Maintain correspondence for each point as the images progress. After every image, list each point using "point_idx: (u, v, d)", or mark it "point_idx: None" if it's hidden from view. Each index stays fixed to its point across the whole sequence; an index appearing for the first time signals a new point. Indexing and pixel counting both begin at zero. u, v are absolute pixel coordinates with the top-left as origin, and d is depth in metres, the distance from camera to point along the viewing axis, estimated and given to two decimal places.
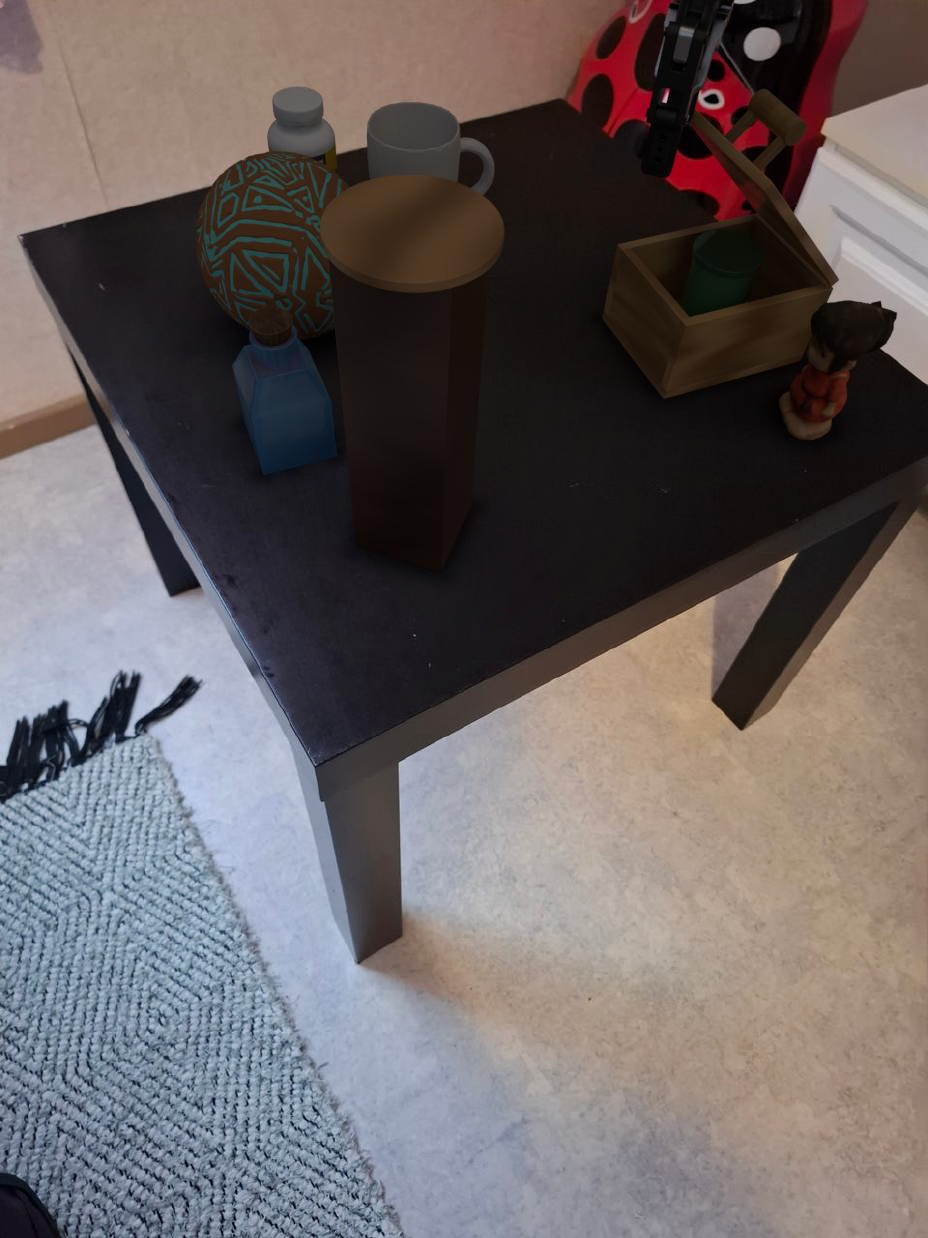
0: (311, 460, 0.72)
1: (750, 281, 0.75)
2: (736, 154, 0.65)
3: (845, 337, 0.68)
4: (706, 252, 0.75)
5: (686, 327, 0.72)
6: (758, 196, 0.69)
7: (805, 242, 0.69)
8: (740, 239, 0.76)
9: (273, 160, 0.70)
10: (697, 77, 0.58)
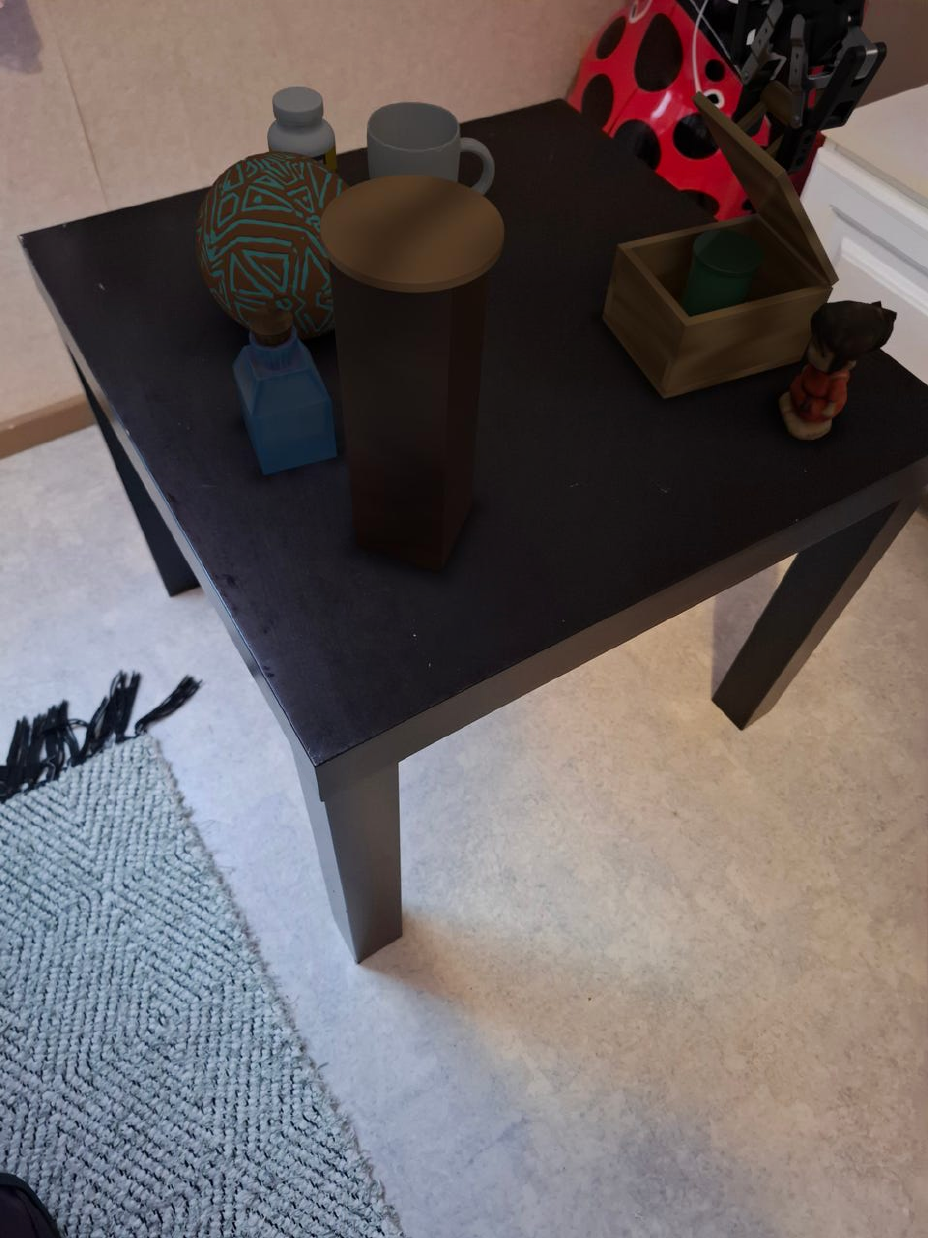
0: (311, 460, 0.72)
1: (750, 281, 0.75)
2: (748, 141, 0.65)
3: (844, 337, 0.68)
4: (706, 252, 0.75)
5: (686, 327, 0.72)
6: (766, 188, 0.69)
7: (811, 237, 0.69)
8: (740, 239, 0.76)
9: (273, 160, 0.70)
10: None
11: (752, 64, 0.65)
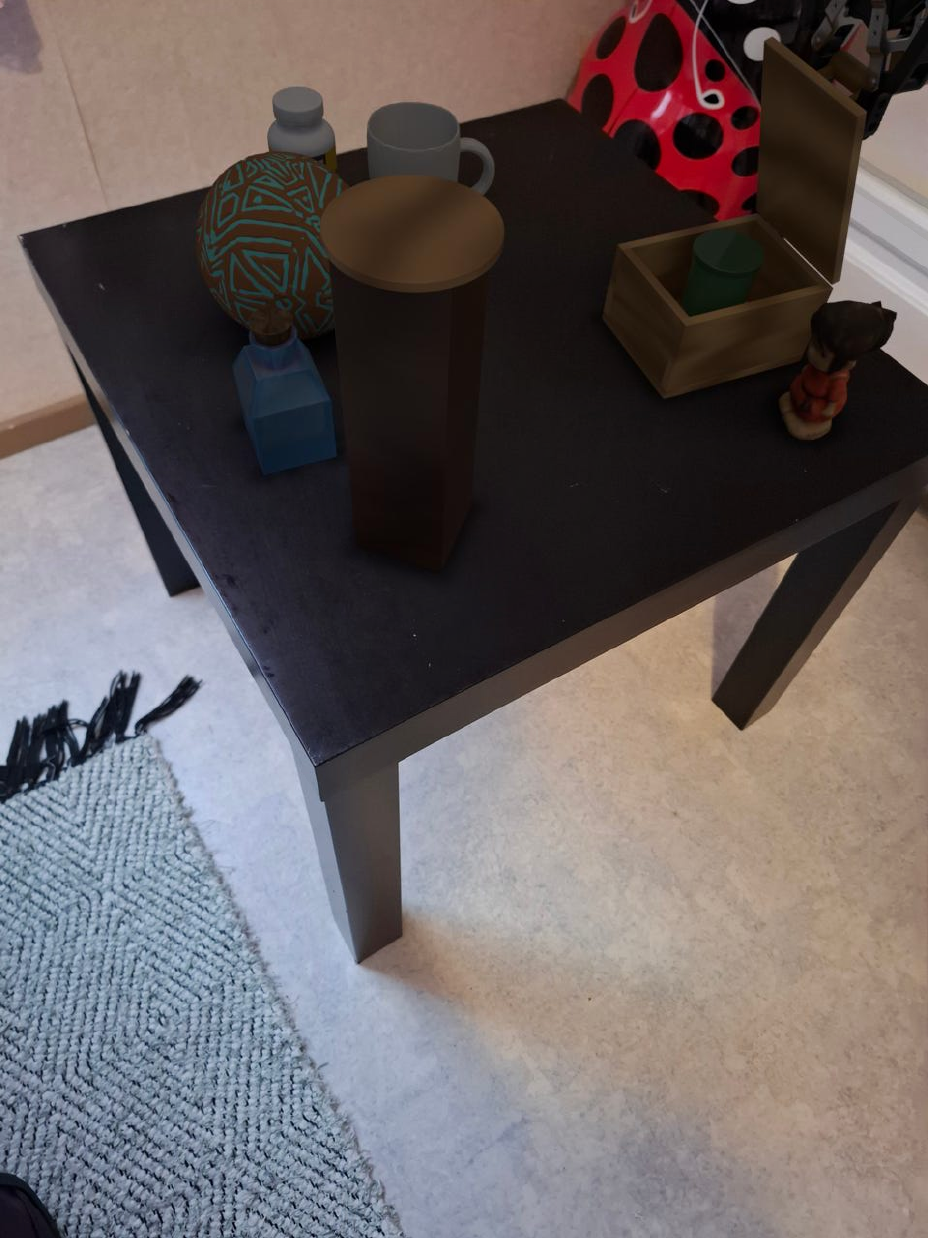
0: (311, 460, 0.72)
1: (750, 281, 0.75)
2: (827, 84, 0.63)
3: (845, 337, 0.68)
4: (706, 252, 0.75)
5: (686, 327, 0.72)
6: (817, 150, 0.68)
7: (846, 212, 0.68)
8: (740, 239, 0.76)
9: (273, 160, 0.70)
10: (911, 40, 0.62)
11: (825, 29, 0.65)
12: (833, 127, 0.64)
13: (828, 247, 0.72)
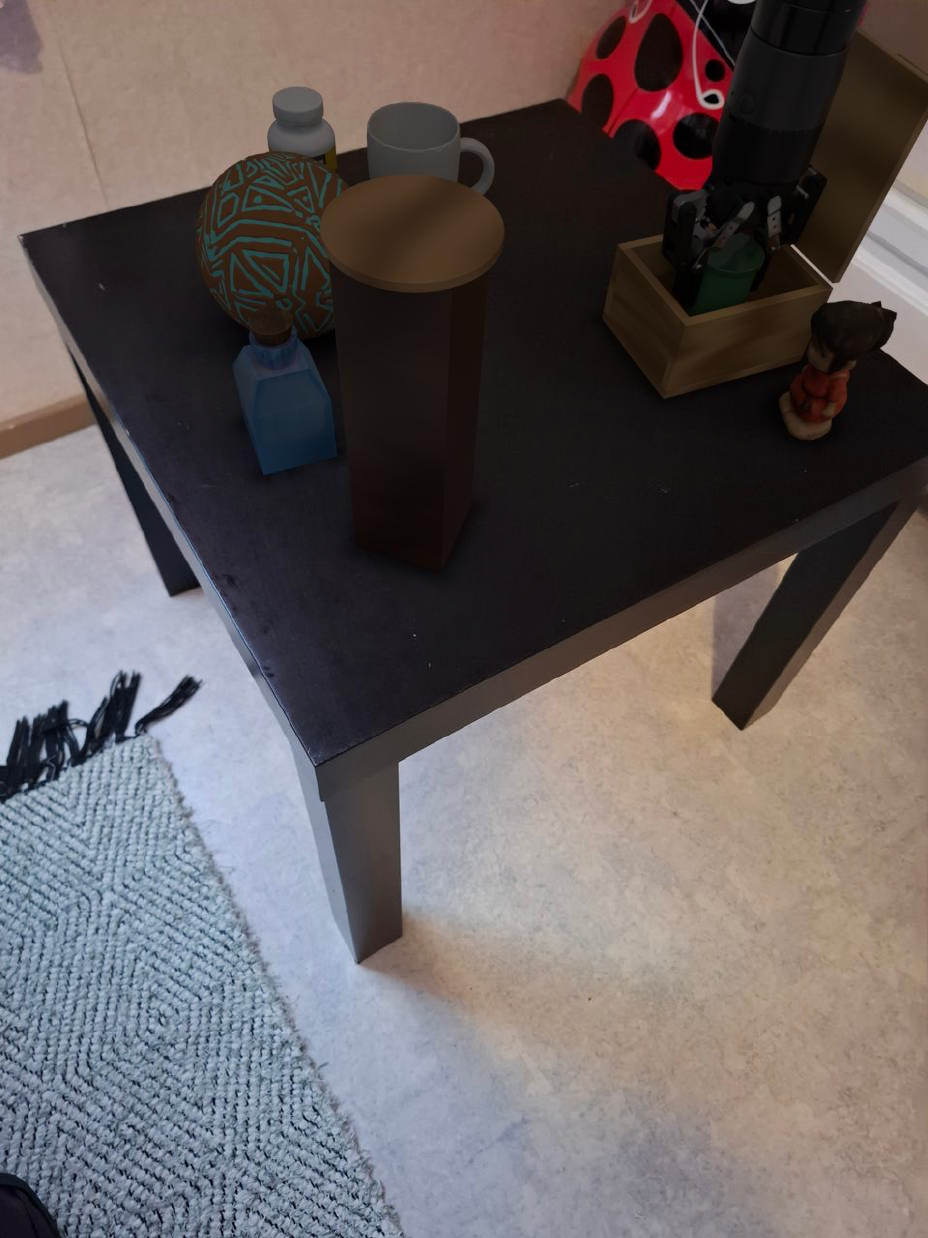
0: (311, 460, 0.72)
1: (750, 281, 0.75)
2: (903, 60, 0.64)
3: (844, 337, 0.68)
4: None
5: (686, 327, 0.72)
6: (867, 131, 0.68)
7: (879, 200, 0.69)
8: (740, 239, 0.76)
9: (273, 160, 0.70)
10: None
11: (706, 256, 0.73)
12: (899, 104, 0.65)
13: (843, 240, 0.73)
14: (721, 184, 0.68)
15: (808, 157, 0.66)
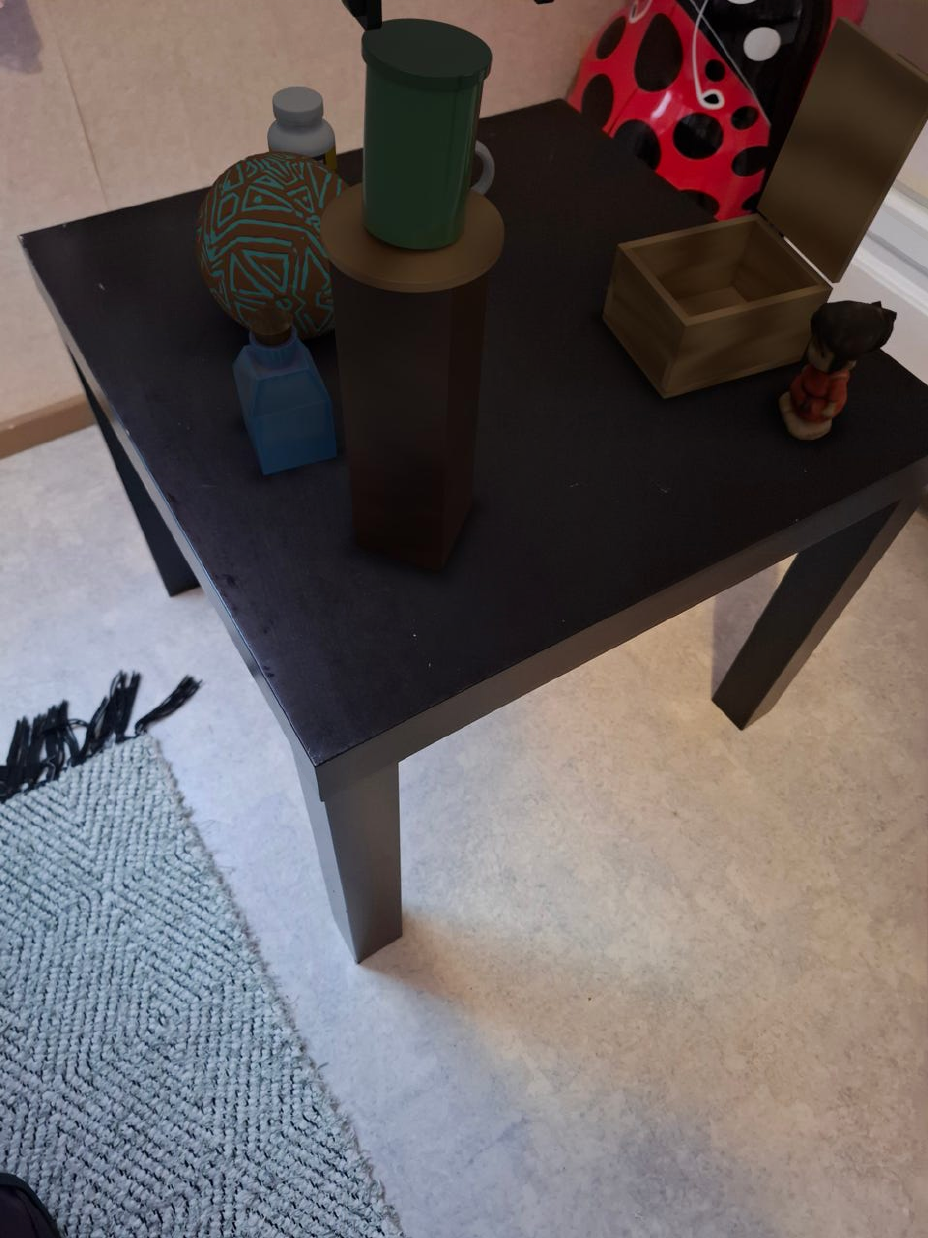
0: (311, 460, 0.72)
1: (466, 107, 0.41)
2: (903, 60, 0.64)
3: (844, 337, 0.68)
4: (383, 44, 0.40)
5: (686, 327, 0.72)
6: (867, 131, 0.68)
7: (879, 200, 0.69)
8: (454, 34, 0.42)
9: (273, 160, 0.70)
10: None
11: None
12: (899, 104, 0.65)
13: (843, 240, 0.73)
14: None
15: None
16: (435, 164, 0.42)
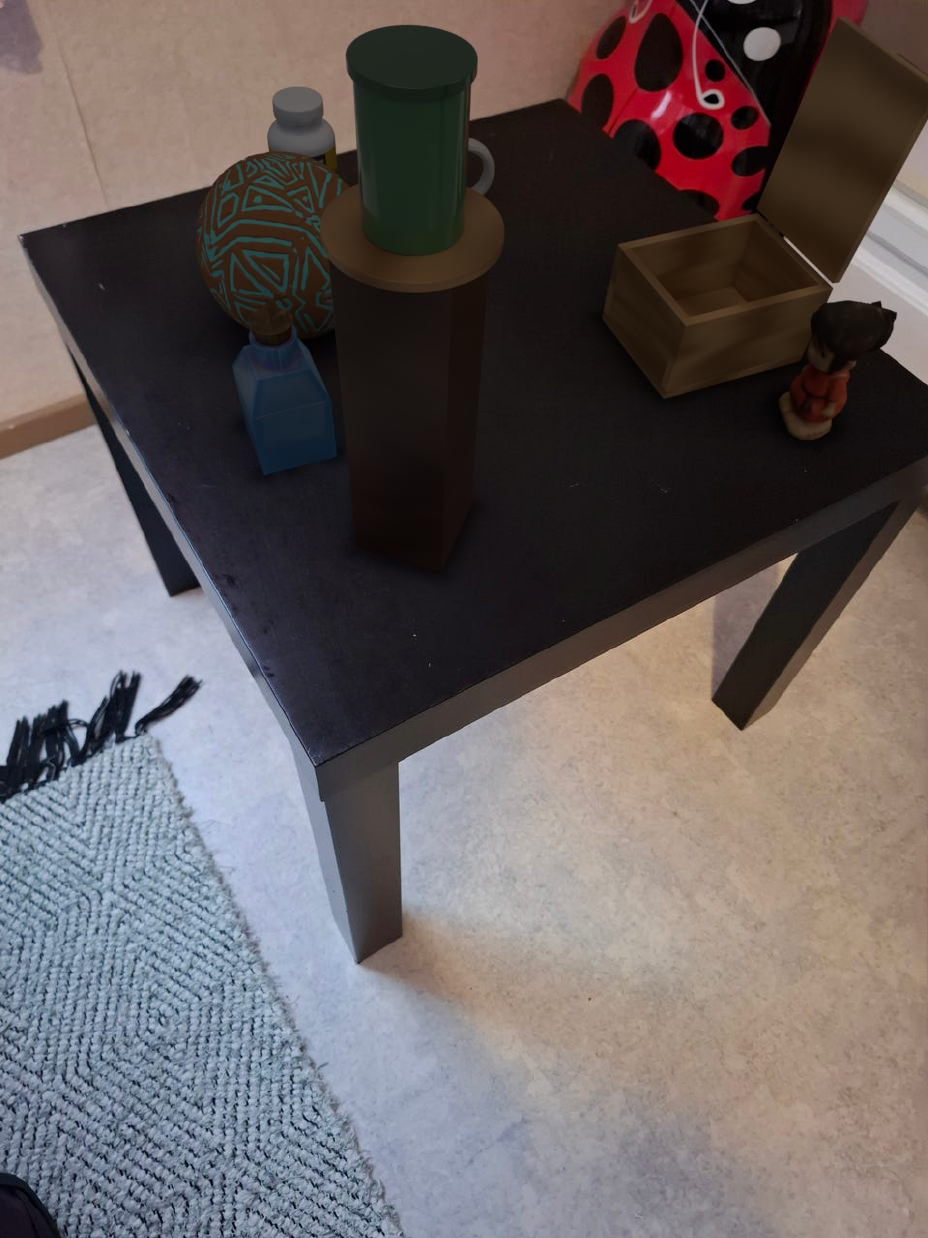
0: (311, 460, 0.72)
1: (454, 114, 0.41)
2: (903, 60, 0.64)
3: (845, 337, 0.68)
4: (367, 57, 0.40)
5: (686, 327, 0.72)
6: (867, 131, 0.68)
7: (879, 200, 0.69)
8: (439, 39, 0.41)
9: (273, 160, 0.70)
10: None
11: None
12: (899, 104, 0.65)
13: (843, 240, 0.73)
14: None
15: None
16: (427, 172, 0.42)
